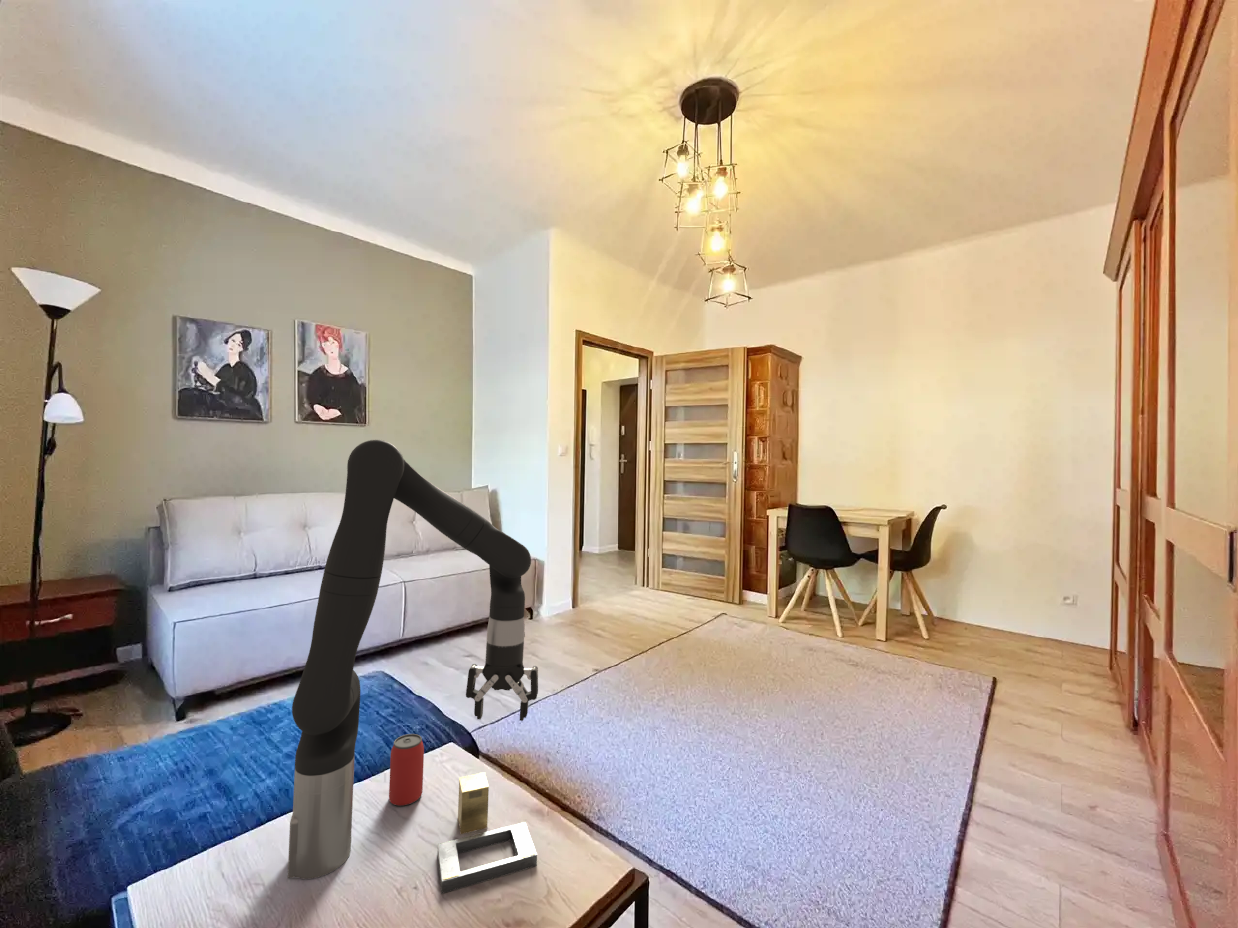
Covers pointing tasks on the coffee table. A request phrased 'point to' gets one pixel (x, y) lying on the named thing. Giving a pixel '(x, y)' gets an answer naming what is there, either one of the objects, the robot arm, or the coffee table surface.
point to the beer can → (406, 770)
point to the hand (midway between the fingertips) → (501, 718)
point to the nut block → (473, 803)
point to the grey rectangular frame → (456, 879)
